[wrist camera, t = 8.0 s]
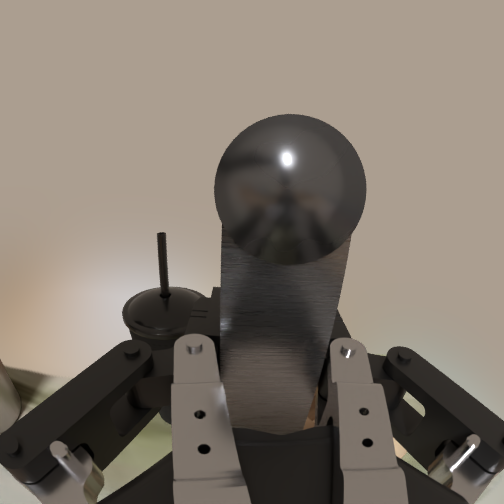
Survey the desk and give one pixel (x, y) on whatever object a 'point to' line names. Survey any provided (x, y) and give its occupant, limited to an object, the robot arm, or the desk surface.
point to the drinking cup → (160, 313)
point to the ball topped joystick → (282, 263)
